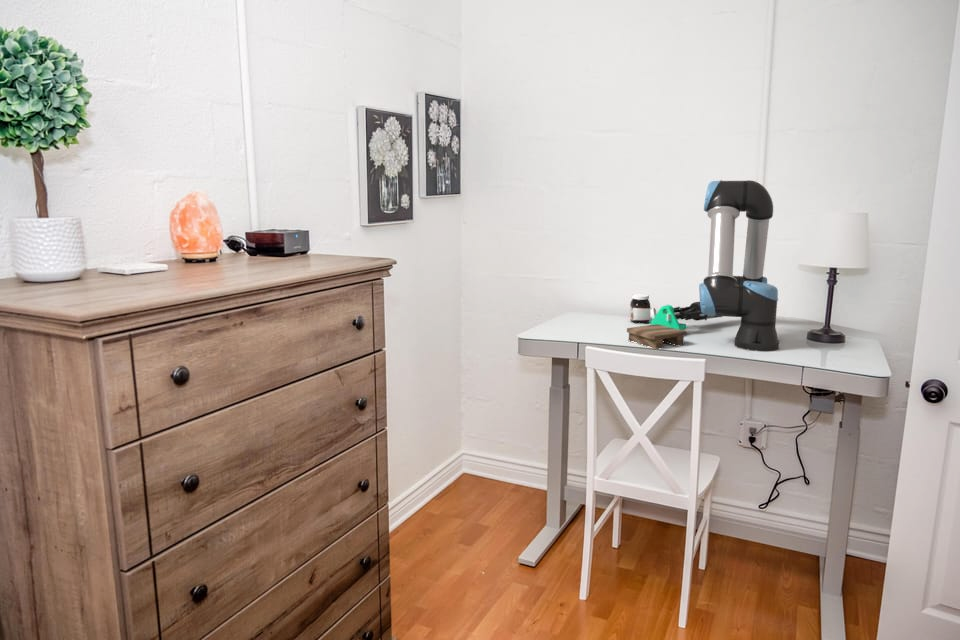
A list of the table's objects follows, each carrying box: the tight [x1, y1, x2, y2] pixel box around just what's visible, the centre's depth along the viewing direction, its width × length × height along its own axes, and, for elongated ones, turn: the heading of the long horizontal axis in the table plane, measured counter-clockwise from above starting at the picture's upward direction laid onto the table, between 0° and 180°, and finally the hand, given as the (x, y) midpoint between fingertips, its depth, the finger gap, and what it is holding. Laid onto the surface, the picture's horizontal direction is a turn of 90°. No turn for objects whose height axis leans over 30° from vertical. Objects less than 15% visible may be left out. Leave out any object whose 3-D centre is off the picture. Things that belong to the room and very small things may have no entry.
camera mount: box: [649, 304, 687, 331], centre depth 271 cm, size 12×8×10 cm, turn 51°
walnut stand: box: [626, 324, 687, 350], centre depth 255 cm, size 15×15×5 cm
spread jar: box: [629, 293, 657, 324], centre depth 291 cm, size 12×11×12 cm
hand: (662, 316), depth 268 cm, fingers closed on camera mount, 5 cm apart
